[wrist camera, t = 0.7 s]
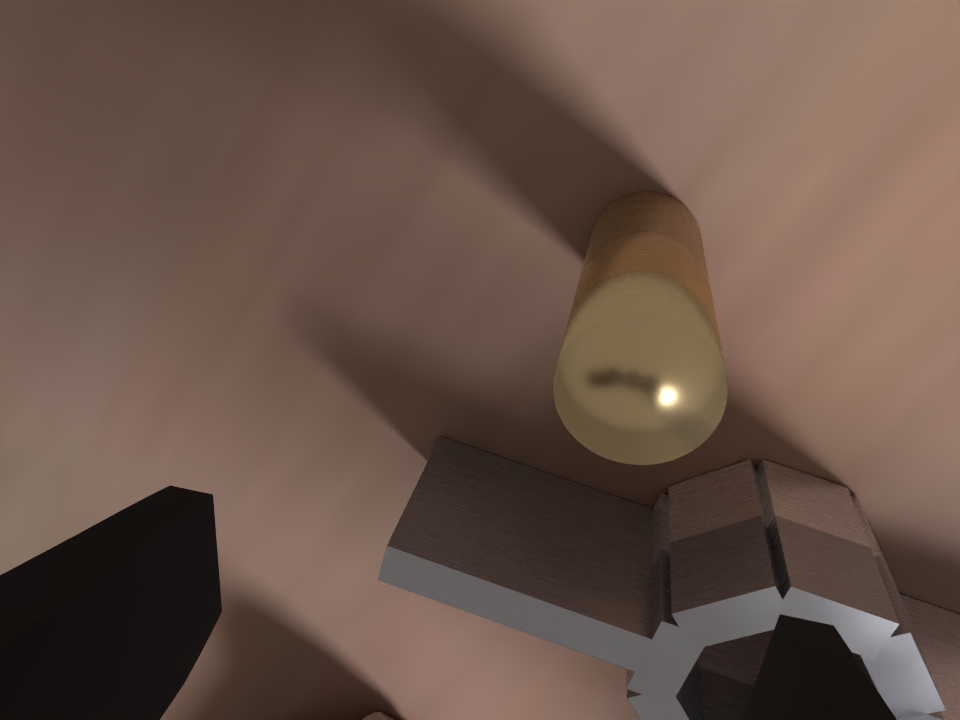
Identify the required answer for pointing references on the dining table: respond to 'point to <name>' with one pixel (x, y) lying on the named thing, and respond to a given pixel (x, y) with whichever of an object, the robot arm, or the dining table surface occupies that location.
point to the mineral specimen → (378, 716)
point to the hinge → (673, 578)
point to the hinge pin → (642, 337)
